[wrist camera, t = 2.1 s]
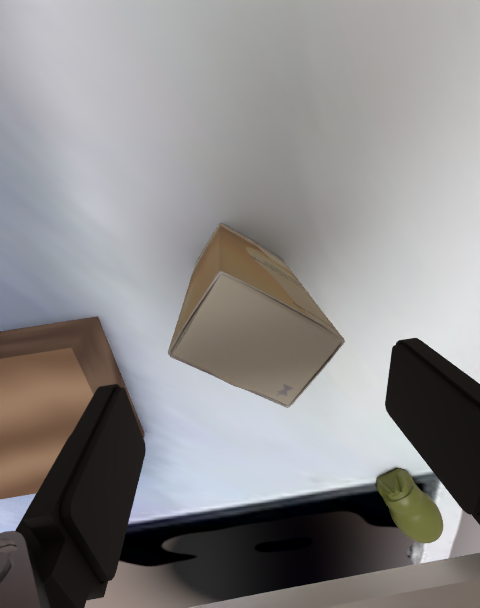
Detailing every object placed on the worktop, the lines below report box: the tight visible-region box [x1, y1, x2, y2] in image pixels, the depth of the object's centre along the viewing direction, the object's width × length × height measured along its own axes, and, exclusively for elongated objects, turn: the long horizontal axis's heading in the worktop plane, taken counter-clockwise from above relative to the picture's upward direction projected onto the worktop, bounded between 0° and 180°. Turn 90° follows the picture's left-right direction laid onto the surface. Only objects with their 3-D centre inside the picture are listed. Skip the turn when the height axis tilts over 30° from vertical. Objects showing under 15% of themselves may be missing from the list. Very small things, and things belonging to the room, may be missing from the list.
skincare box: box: [168, 223, 345, 408], centre depth 17 cm, size 6×4×12 cm
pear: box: [377, 468, 443, 543], centre depth 35 cm, size 6×5×10 cm
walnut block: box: [0, 316, 145, 499], centre depth 24 cm, size 14×14×5 cm
